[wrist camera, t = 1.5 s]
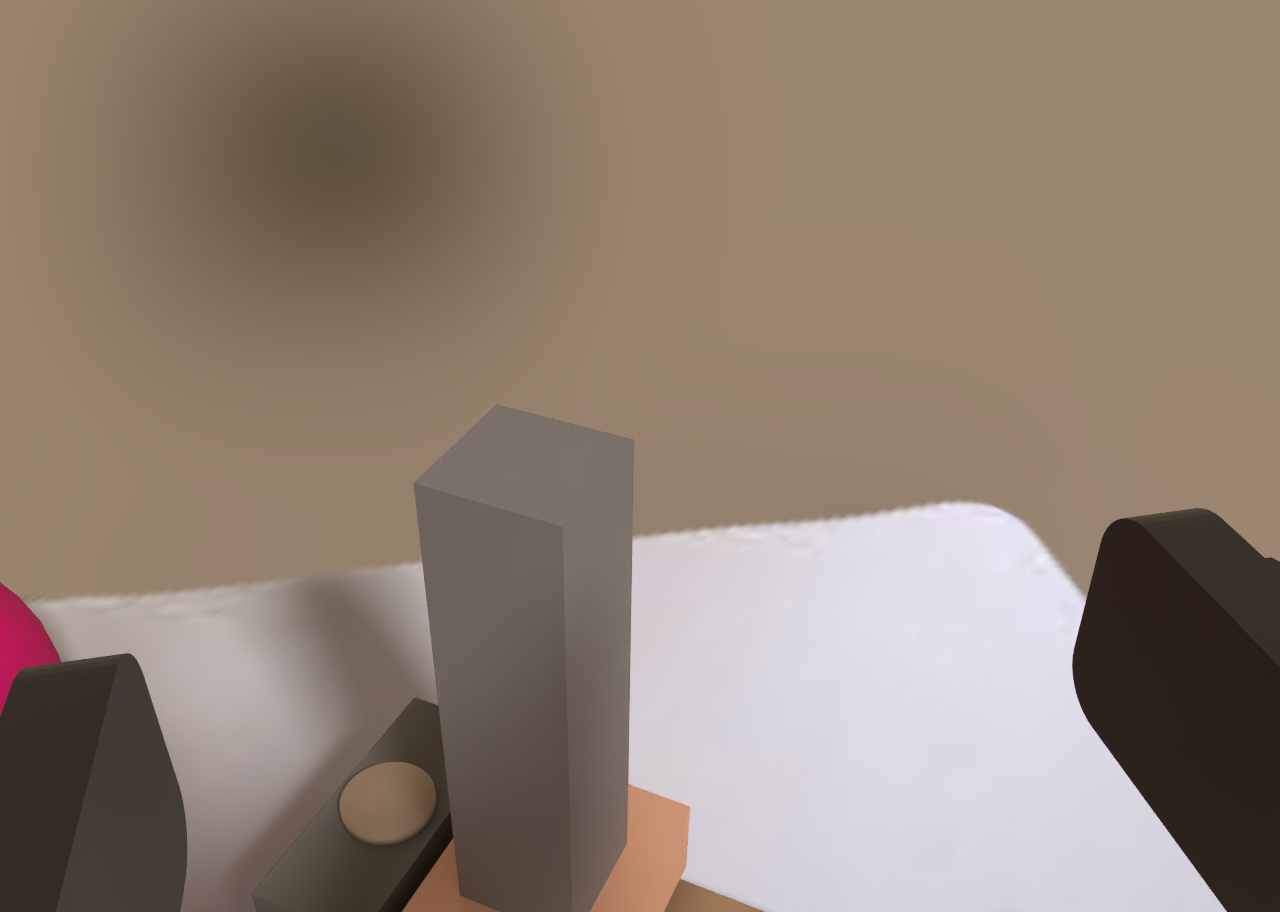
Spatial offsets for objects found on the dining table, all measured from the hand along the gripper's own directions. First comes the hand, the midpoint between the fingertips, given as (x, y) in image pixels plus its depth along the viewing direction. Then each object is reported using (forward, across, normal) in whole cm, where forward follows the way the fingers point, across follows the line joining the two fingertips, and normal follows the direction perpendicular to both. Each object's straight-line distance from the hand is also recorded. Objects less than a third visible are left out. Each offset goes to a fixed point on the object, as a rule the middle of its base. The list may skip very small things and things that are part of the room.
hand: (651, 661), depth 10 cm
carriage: (+12, 0, +19) cm, 23 cm away
